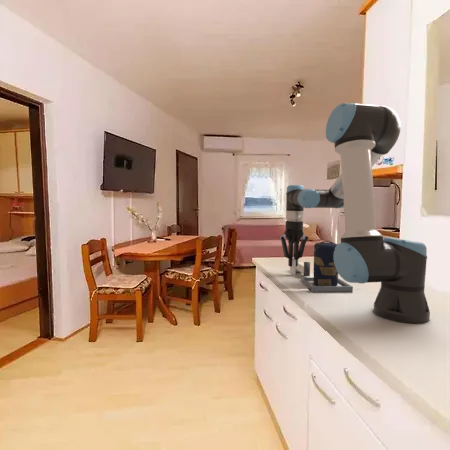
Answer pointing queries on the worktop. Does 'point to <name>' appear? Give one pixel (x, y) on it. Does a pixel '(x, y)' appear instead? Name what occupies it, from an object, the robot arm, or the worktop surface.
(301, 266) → the crank
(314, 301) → the worktop surface
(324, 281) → the canister
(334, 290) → the tray
